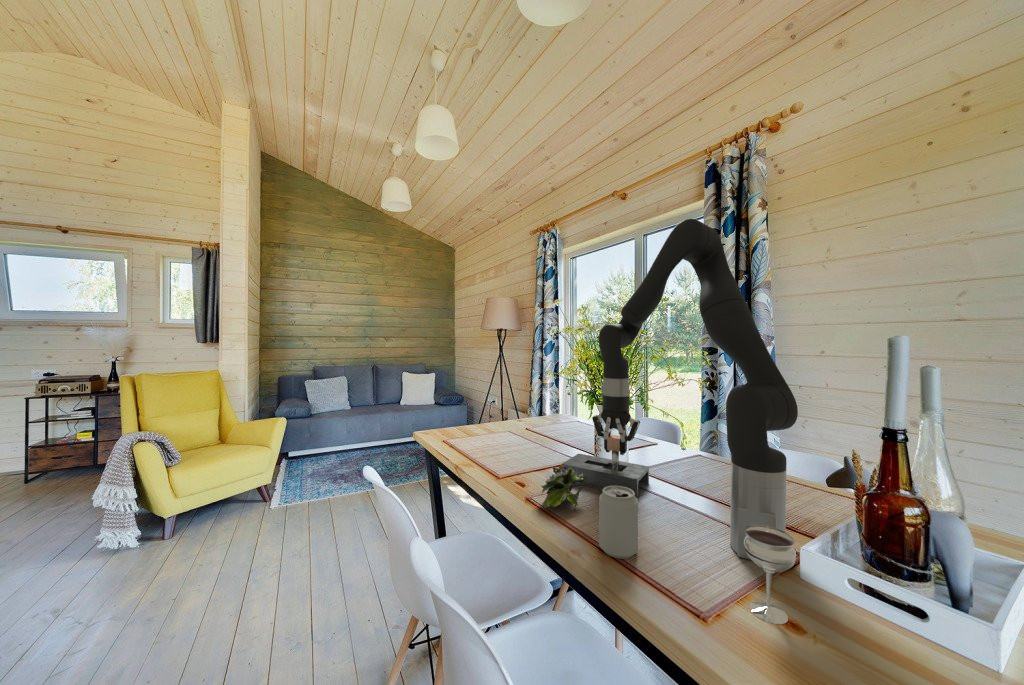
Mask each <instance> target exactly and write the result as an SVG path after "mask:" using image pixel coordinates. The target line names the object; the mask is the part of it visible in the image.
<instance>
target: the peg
mask: <svg viewBox="0 0 1024 685" xmlns="http://www.w3.org/2000/svg"><path fill="white" fill-rule="evenodd" d="M620 442H621V439H620V435H619V434H618V435H616V434H611V435H610V436H608V437H607V450H611V460H612V470H615V471H619V461H620Z"/></svg>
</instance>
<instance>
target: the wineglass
mask: <svg viewBox="0 0 1024 685" xmlns="http://www.w3.org/2000/svg"><path fill="white" fill-rule="evenodd" d="M744 531H745V533H746V537H745V539H744V548H745V551H746V553H747V555H748V556H749V557H750V559H751V560H750V561H752V562H753V564H755V565H756V566H758V567H759V568H760V569H762V570H763V571H764V572H765V586H766V591H765V592H766V601H760V600H756V601H755V600H754V601H752V602H751V603H750V604H749V609H750V611H751V612H752V613H753V615H755V616H756V617H757V618H759V619H761V620H762V621H764V622H767V623H770V624H775V625H783V624H786V623H787V622H788V621H789V617H788V615H787V613H786V612H785V611H784V610H782V609H781V608H780V607H779V606H777V605H774V604H773V603H771V594H772V593H771V591H772V578H773V575H774V574H775V573H783V572H786V571H788V570H790V569H791V568H792V567H794V565H795V564H796V558H797V553H796V549H795V546H796V544H797V540H796V539H795V538H794V537H793V536H792V535H791V534H789V533H787V532H786V531H785V532H784V531H781V530H779V529H776V528H773V527H769V526H763V525H750V526H747V527H745V529H744Z"/></svg>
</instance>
